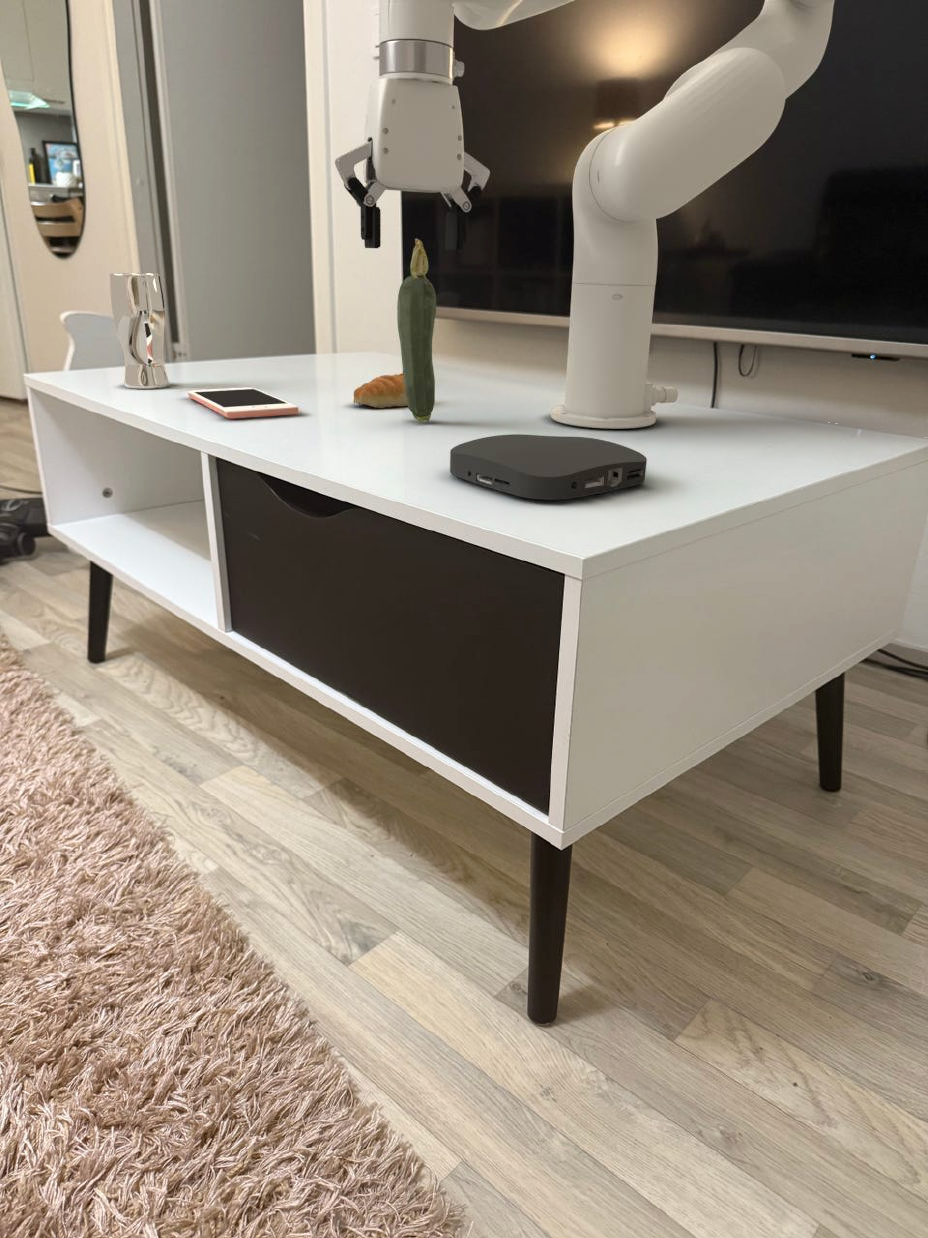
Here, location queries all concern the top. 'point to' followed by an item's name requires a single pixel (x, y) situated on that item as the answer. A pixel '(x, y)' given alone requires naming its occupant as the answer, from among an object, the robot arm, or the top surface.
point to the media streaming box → (547, 465)
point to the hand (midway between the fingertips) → (413, 249)
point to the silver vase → (140, 327)
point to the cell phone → (243, 402)
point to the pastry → (382, 392)
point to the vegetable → (417, 335)
